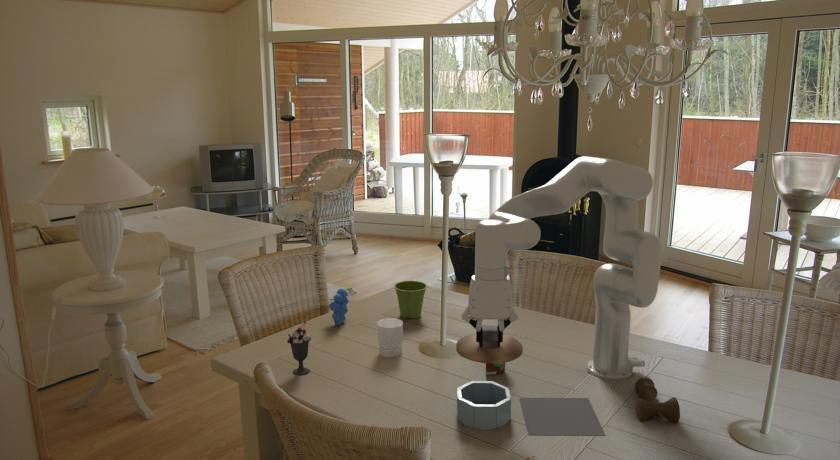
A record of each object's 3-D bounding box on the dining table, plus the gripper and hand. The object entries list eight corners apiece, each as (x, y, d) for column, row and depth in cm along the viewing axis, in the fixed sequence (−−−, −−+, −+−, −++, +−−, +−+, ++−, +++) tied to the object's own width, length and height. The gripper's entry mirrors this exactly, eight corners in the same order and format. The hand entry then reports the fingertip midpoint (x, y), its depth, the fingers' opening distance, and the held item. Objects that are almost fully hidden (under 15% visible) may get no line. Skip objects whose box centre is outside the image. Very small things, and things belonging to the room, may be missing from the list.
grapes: (335, 315, 228) (333, 283, 226) (353, 317, 227) (351, 285, 224) (323, 327, 217) (321, 294, 215) (342, 329, 216) (340, 295, 213)
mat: (587, 399, 167) (588, 397, 167) (605, 437, 150) (605, 435, 150) (519, 399, 168) (519, 397, 168) (528, 437, 150) (528, 435, 150)
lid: (518, 336, 162) (518, 316, 161) (527, 363, 147) (527, 341, 146) (455, 336, 163) (455, 316, 161) (457, 363, 147) (457, 341, 146)
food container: (507, 381, 178) (507, 347, 176) (485, 379, 179) (485, 346, 177) (510, 362, 190) (510, 330, 187) (489, 360, 191) (489, 329, 188)
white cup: (373, 356, 195) (372, 325, 192) (384, 346, 202) (383, 316, 200) (397, 360, 192) (396, 329, 190) (407, 350, 199) (406, 319, 197)
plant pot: (415, 324, 220) (415, 293, 217) (387, 317, 226) (387, 287, 224) (433, 313, 230) (433, 283, 227) (406, 307, 236) (406, 278, 233)
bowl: (506, 404, 165) (507, 381, 164) (512, 431, 153) (513, 406, 151) (456, 403, 166) (456, 381, 164) (458, 430, 153) (458, 406, 152)
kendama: (662, 396, 170) (685, 434, 151) (625, 395, 171) (642, 433, 152) (663, 375, 169) (686, 411, 149) (625, 374, 170) (643, 410, 150)
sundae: (317, 369, 187) (314, 320, 183) (304, 378, 181) (301, 329, 177) (298, 365, 189) (296, 317, 186) (285, 374, 183) (281, 325, 180)
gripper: (523, 267, 154) (521, 338, 158) (455, 267, 154) (454, 338, 158) (528, 277, 147) (525, 351, 151) (456, 277, 147) (455, 351, 151)
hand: (489, 344), depth 154 cm, fingers closed on lid, 3 cm apart
